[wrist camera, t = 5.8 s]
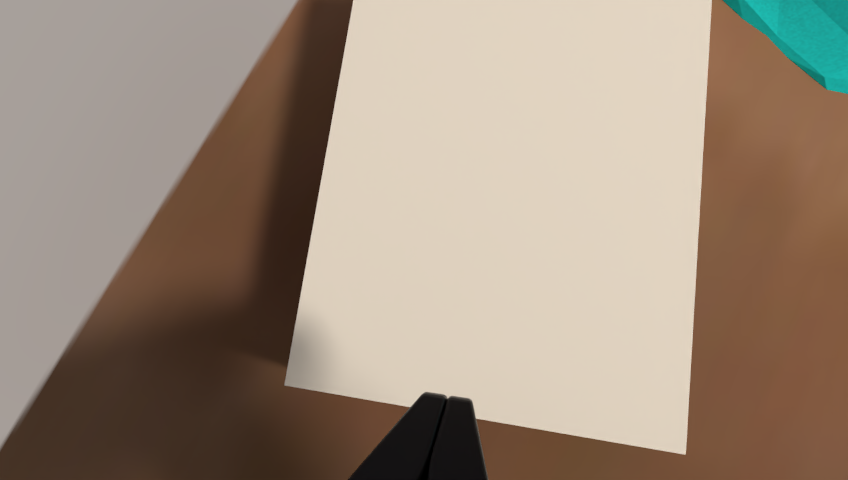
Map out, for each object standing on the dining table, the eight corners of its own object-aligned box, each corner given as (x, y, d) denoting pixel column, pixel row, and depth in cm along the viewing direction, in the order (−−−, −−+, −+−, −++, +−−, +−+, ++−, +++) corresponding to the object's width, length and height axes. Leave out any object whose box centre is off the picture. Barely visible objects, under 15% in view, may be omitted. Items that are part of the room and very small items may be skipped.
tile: (685, 454, 13) (714, -49, 15) (284, 385, 15) (361, -47, 17) (653, 432, 16) (680, 25, 18) (330, 378, 18) (390, 19, 20)
